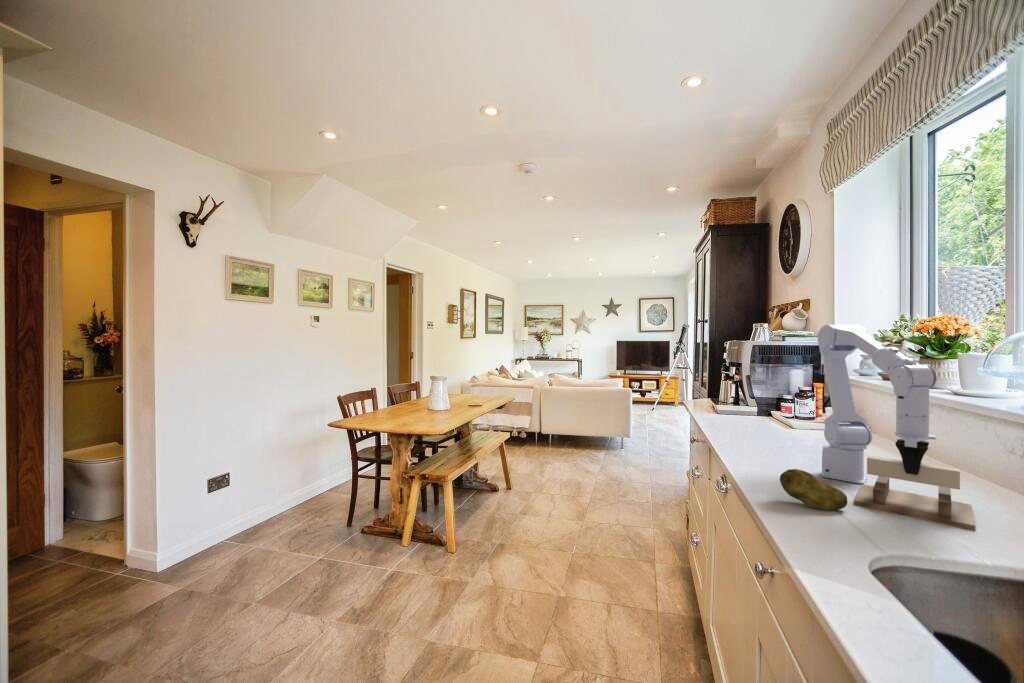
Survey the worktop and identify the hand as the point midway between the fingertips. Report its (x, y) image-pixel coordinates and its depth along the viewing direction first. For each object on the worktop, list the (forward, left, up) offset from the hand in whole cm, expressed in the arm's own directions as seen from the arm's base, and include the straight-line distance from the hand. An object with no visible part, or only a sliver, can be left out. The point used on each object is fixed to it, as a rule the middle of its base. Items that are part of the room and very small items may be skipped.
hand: (911, 472), depth 102 cm
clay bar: (0, 0, -2) cm, 2 cm away
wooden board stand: (0, 0, -8) cm, 8 cm away
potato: (-17, -16, -8) cm, 25 cm away
